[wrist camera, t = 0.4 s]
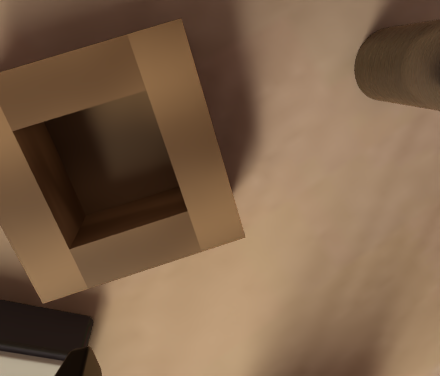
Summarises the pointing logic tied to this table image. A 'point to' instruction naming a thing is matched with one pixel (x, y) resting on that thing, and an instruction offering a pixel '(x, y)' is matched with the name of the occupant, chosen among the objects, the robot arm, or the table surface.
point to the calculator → (38, 338)
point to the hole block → (110, 162)
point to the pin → (402, 65)
